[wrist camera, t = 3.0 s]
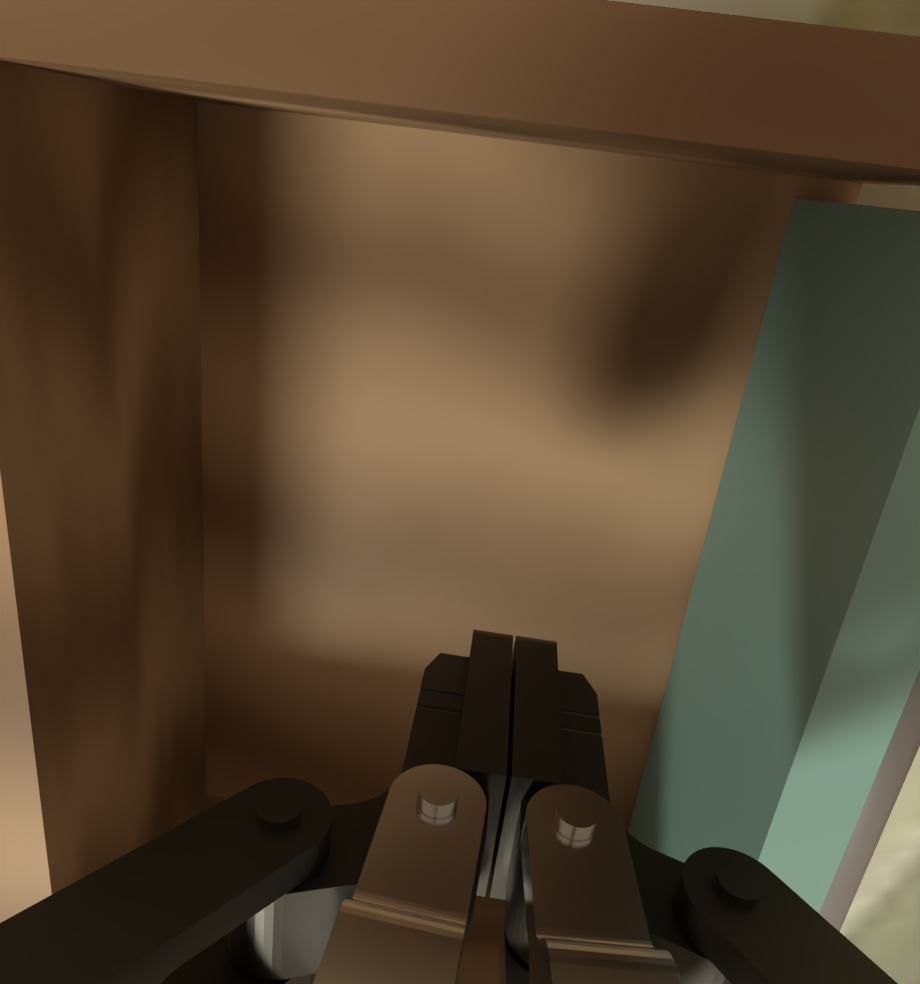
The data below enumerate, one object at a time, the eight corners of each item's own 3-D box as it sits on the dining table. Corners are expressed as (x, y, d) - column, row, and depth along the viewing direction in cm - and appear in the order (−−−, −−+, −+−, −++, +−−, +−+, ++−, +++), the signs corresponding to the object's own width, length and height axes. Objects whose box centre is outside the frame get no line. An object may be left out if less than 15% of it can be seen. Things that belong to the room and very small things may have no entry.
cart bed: (178, 39, 17) (-176, -91, 8) (842, 119, 16) (1169, 65, 8) (194, 771, 24) (18, 1081, 16) (643, 841, 24) (701, 1198, 16)
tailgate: (794, 198, 15) (987, 218, 8) (913, 212, 15) (1194, 245, 8) (621, 854, 21) (658, 1140, 15) (703, 867, 21) (773, 1160, 15)
